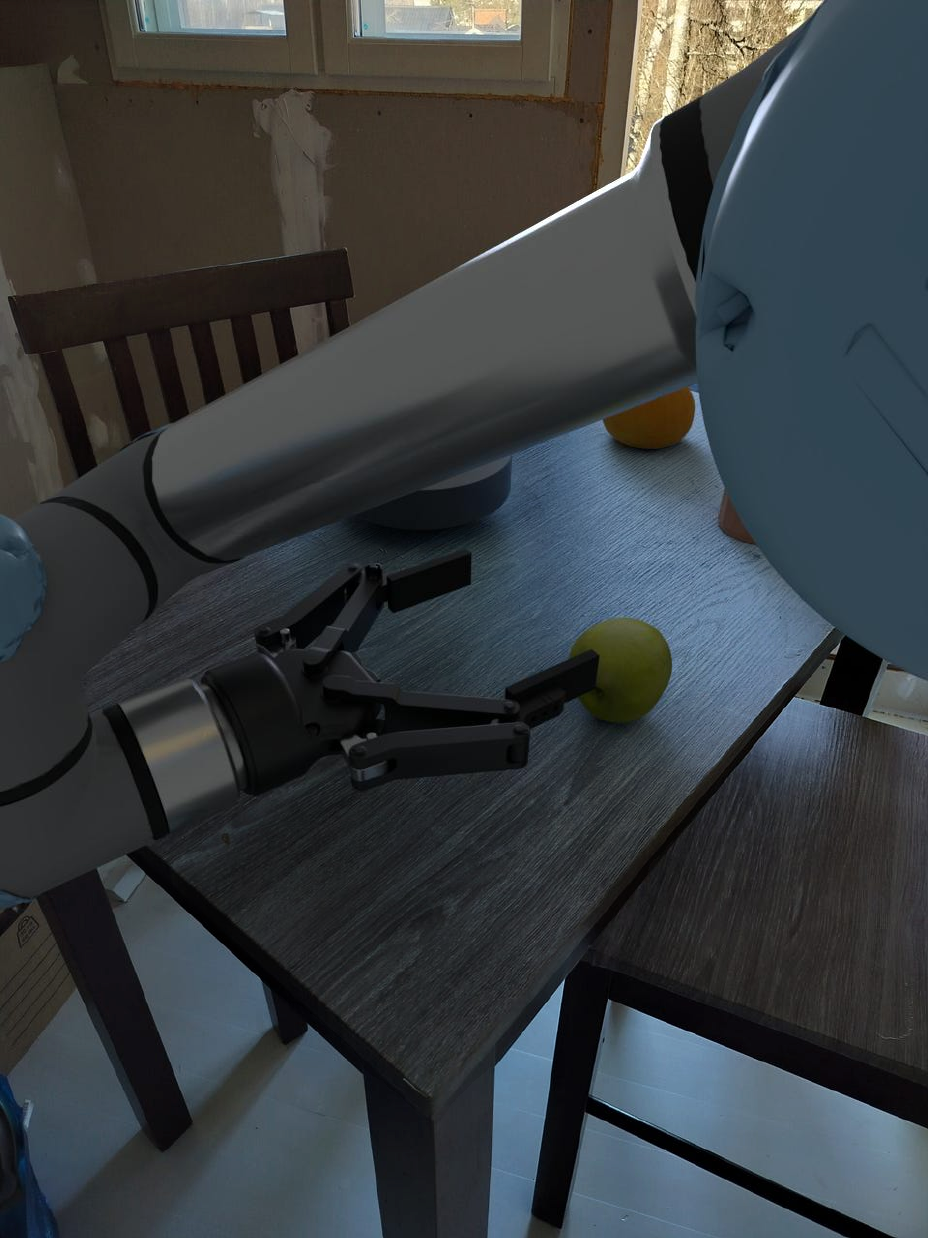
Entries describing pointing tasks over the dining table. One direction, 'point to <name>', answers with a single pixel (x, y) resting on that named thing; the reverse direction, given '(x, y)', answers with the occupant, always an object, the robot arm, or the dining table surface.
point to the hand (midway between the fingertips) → (526, 613)
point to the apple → (625, 668)
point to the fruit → (654, 421)
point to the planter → (448, 500)
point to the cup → (732, 521)
